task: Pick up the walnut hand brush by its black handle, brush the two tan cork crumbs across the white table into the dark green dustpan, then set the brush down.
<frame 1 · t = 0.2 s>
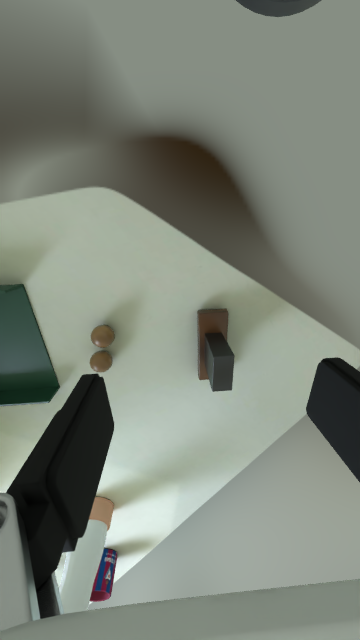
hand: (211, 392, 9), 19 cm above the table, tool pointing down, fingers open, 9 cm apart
mug: (100, 555, 54), on the table
dustpan: (0, 344, 28), on the table
brush: (210, 342, 30), on the table
crumb b: (101, 361, 29), point 1 cm above the table
crumb a: (102, 336, 27), point 1 cm above the table
salt shaker: (97, 504, 45), on the table
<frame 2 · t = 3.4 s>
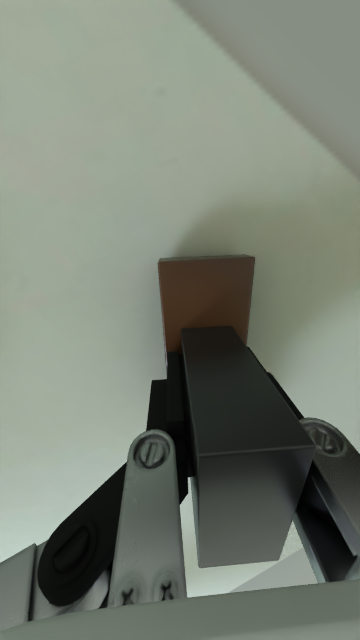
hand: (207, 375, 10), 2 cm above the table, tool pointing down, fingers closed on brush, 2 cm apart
brush: (201, 354, 12), on the table, touching gripper
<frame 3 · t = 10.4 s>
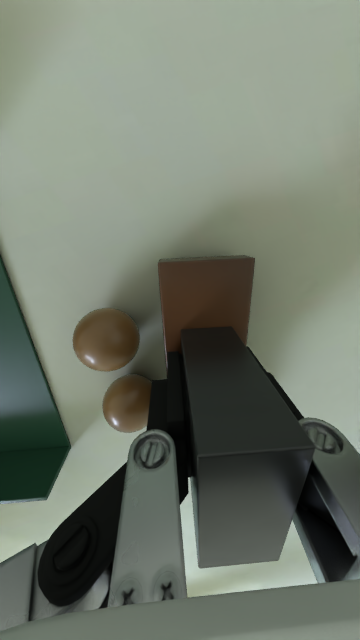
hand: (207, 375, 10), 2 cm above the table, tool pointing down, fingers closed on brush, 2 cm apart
brush: (201, 354, 12), on the table, touching gripper
crumb b: (131, 402, 11), point 1 cm above the table, tilted 105°
crumb a: (107, 339, 10), point 1 cm above the table, tilted 166°
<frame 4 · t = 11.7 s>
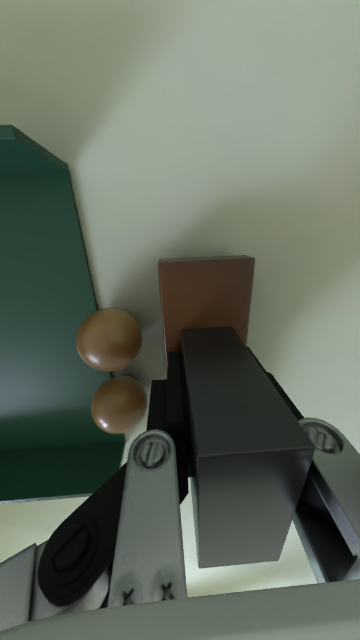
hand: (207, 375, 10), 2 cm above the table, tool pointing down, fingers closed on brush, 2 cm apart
brush: (201, 354, 12), on the table, touching gripper
crumb b: (120, 403, 11), point 1 cm above the table, tilted 82°
crumb a: (110, 339, 10), point 1 cm above the table, tilted 50°
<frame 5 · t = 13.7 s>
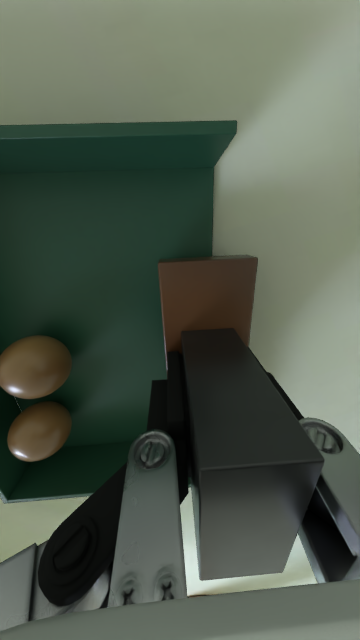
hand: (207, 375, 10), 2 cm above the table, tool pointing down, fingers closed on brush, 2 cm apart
dustpan: (104, 342, 11), on the table
brush: (201, 356, 11), point 1 cm above the table, touching gripper
crumb b: (41, 429, 11), point 2 cm above the table, tilted 42°, touching dustpan
crumb a: (37, 365, 10), point 2 cm above the table, tilted 51°, touching dustpan
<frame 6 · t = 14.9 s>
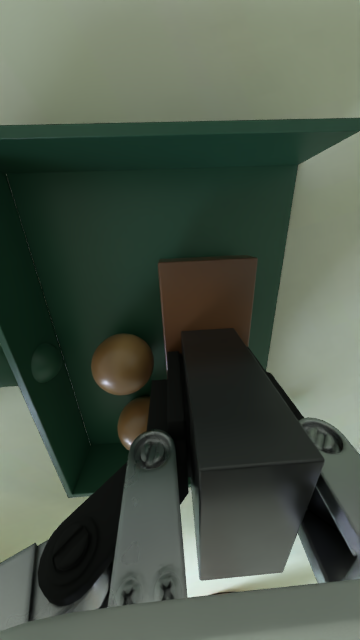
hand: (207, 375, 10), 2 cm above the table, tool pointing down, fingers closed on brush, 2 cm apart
dustpan: (167, 339, 12), on the table
brush: (201, 356, 11), point 1 cm above the table, touching gripper
crumb b: (144, 423, 12), point 2 cm above the table, tilted 127°, touching dustpan
crumb a: (123, 363, 10), point 2 cm above the table, tilted 75°, touching dustpan
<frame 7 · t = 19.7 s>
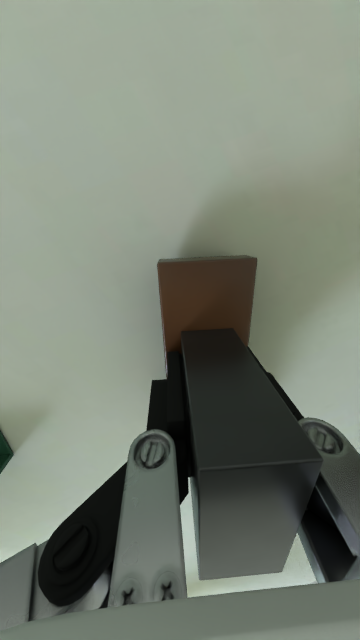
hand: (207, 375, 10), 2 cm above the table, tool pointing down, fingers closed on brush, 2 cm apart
brush: (201, 356, 11), on the table, touching gripper
when the fingers open (2 cm above the table, at t = 20.7 s): brush stays where it is, on the table.
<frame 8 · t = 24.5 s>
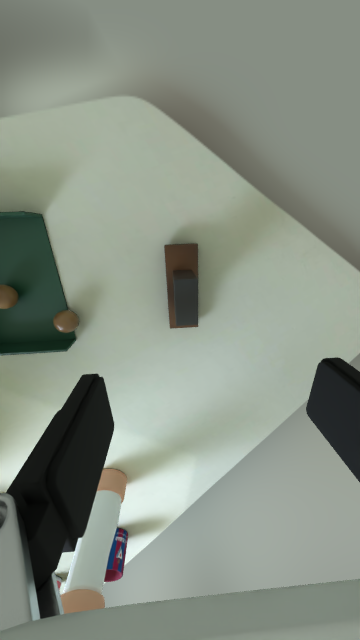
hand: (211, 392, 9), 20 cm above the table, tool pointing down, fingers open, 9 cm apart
mug: (110, 535, 52), on the table
dustpan: (14, 287, 26), on the table
brush: (181, 286, 28), on the table
crumb b: (66, 321, 27), point 2 cm above the table, tilted 69°, touching dustpan
crumb a: (3, 296, 25), point 2 cm above the table, tilted 141°, touching dustpan
salt shaker: (110, 478, 43), on the table
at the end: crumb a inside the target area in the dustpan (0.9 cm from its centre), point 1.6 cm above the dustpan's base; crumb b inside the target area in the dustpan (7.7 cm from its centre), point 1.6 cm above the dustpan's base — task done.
